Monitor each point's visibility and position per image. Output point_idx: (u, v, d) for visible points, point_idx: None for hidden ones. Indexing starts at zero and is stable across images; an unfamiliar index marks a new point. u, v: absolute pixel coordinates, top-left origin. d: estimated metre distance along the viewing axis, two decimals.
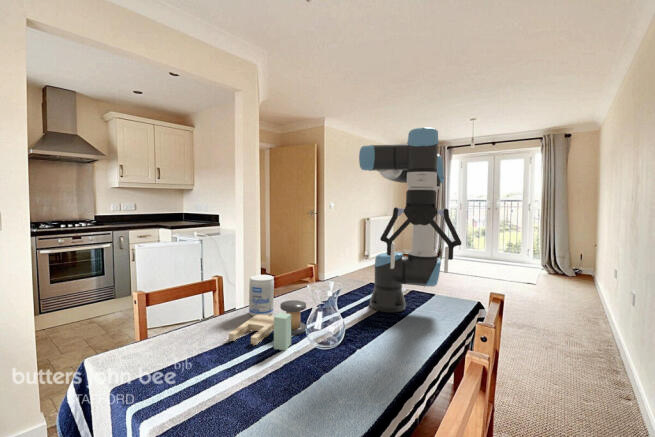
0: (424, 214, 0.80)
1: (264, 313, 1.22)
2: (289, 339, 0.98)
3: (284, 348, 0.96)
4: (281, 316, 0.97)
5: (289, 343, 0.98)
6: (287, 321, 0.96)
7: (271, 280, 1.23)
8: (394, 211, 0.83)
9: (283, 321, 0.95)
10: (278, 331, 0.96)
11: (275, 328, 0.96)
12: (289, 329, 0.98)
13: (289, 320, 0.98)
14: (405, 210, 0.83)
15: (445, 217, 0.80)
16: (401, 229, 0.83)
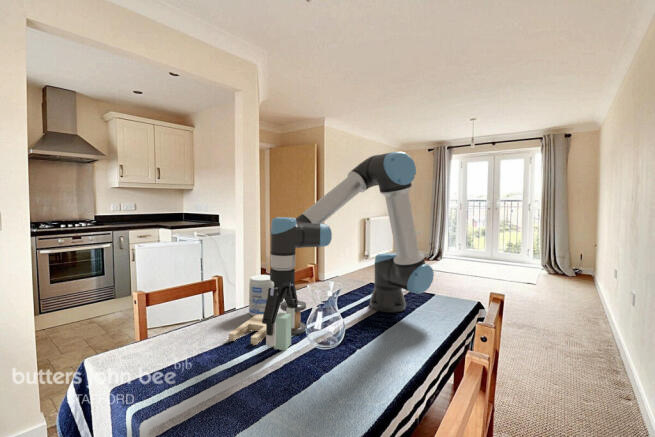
0: None
1: None
2: (289, 339, 0.98)
3: (284, 348, 0.96)
4: (281, 316, 0.97)
5: (289, 343, 0.98)
6: (287, 321, 0.96)
7: None
8: None
9: (283, 320, 0.95)
10: (278, 331, 0.96)
11: None
12: (289, 329, 0.98)
13: (289, 320, 0.98)
14: None
15: None
16: None
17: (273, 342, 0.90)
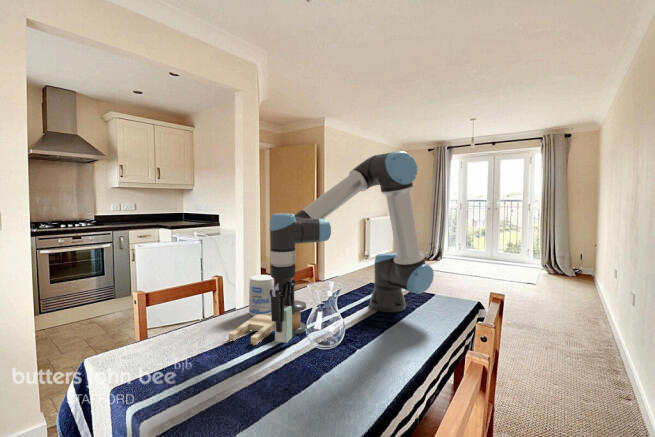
0: None
1: (264, 313, 1.22)
2: (290, 331, 0.98)
3: (285, 340, 0.96)
4: None
5: (290, 335, 0.98)
6: (288, 313, 0.96)
7: (271, 280, 1.23)
8: None
9: None
10: None
11: None
12: (290, 321, 0.98)
13: (290, 312, 0.98)
14: None
15: None
16: None
17: (282, 338, 0.95)
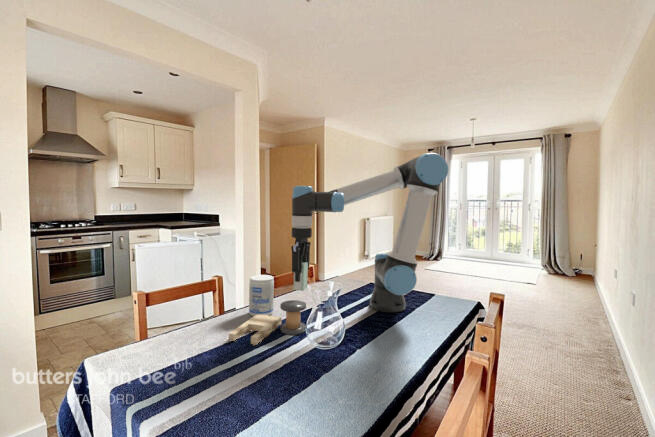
0: None
1: (264, 313, 1.22)
2: (305, 282, 1.20)
3: (302, 289, 1.18)
4: None
5: (306, 286, 1.20)
6: (304, 267, 1.18)
7: (271, 280, 1.23)
8: None
9: None
10: None
11: (294, 273, 1.19)
12: (306, 274, 1.20)
13: (306, 266, 1.20)
14: None
15: None
16: None
17: (300, 287, 1.17)
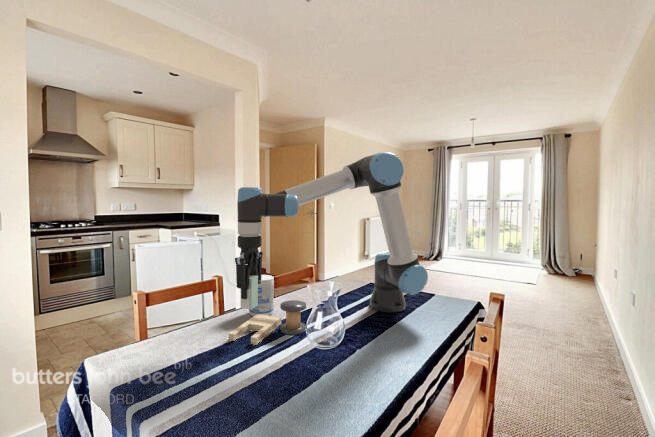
0: None
1: (264, 313, 1.22)
2: (255, 299, 1.03)
3: (250, 307, 1.01)
4: None
5: (255, 303, 1.04)
6: (253, 281, 1.02)
7: (271, 280, 1.23)
8: None
9: (249, 280, 1.01)
10: None
11: None
12: (256, 290, 1.04)
13: (255, 281, 1.03)
14: None
15: None
16: None
17: (247, 305, 1.01)
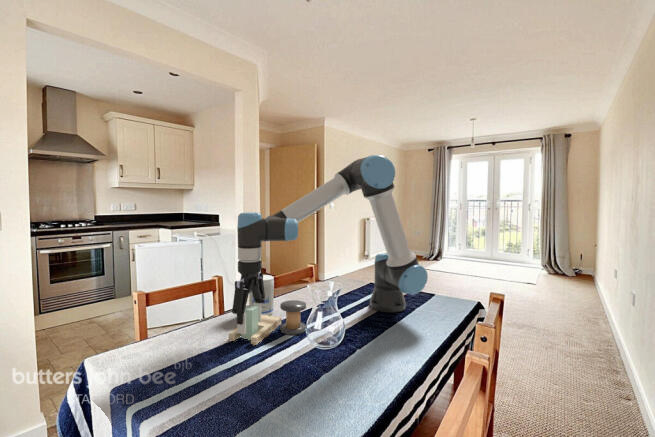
0: None
1: (264, 313, 1.22)
2: (255, 330, 1.04)
3: (250, 338, 1.02)
4: (248, 308, 1.03)
5: None
6: (253, 313, 1.03)
7: (271, 280, 1.23)
8: None
9: (249, 312, 1.02)
10: None
11: None
12: (256, 321, 1.05)
13: (256, 312, 1.04)
14: None
15: None
16: None
17: (243, 330, 0.99)
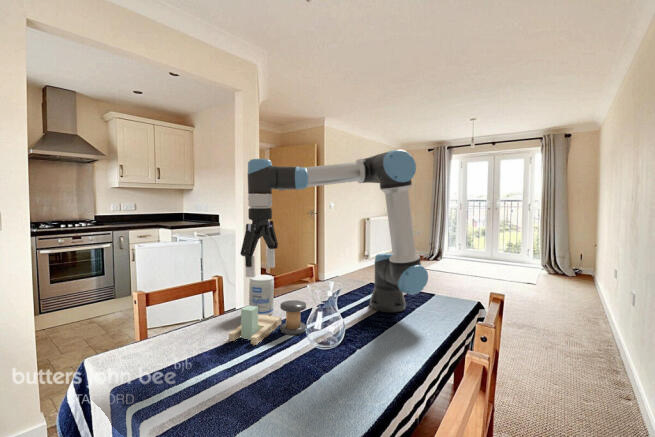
0: None
1: (264, 313, 1.22)
2: (255, 330, 1.04)
3: (250, 338, 1.02)
4: (248, 308, 1.03)
5: None
6: (253, 313, 1.03)
7: (271, 280, 1.23)
8: None
9: (249, 312, 1.02)
10: (245, 323, 1.02)
11: (242, 320, 1.03)
12: (256, 321, 1.05)
13: (256, 312, 1.04)
14: None
15: None
16: None
17: (252, 274, 0.97)
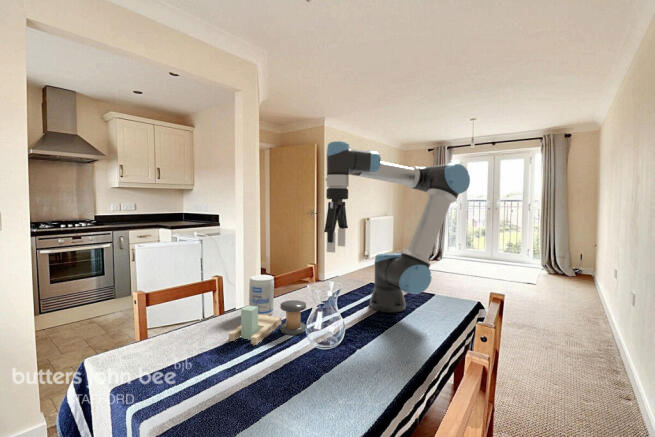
0: None
1: (264, 313, 1.22)
2: (255, 330, 1.04)
3: (250, 338, 1.02)
4: (248, 308, 1.03)
5: None
6: (253, 313, 1.03)
7: (271, 280, 1.23)
8: None
9: (249, 312, 1.02)
10: (245, 323, 1.02)
11: (242, 320, 1.03)
12: (256, 321, 1.05)
13: (256, 312, 1.04)
14: None
15: None
16: None
17: (333, 249, 1.03)
